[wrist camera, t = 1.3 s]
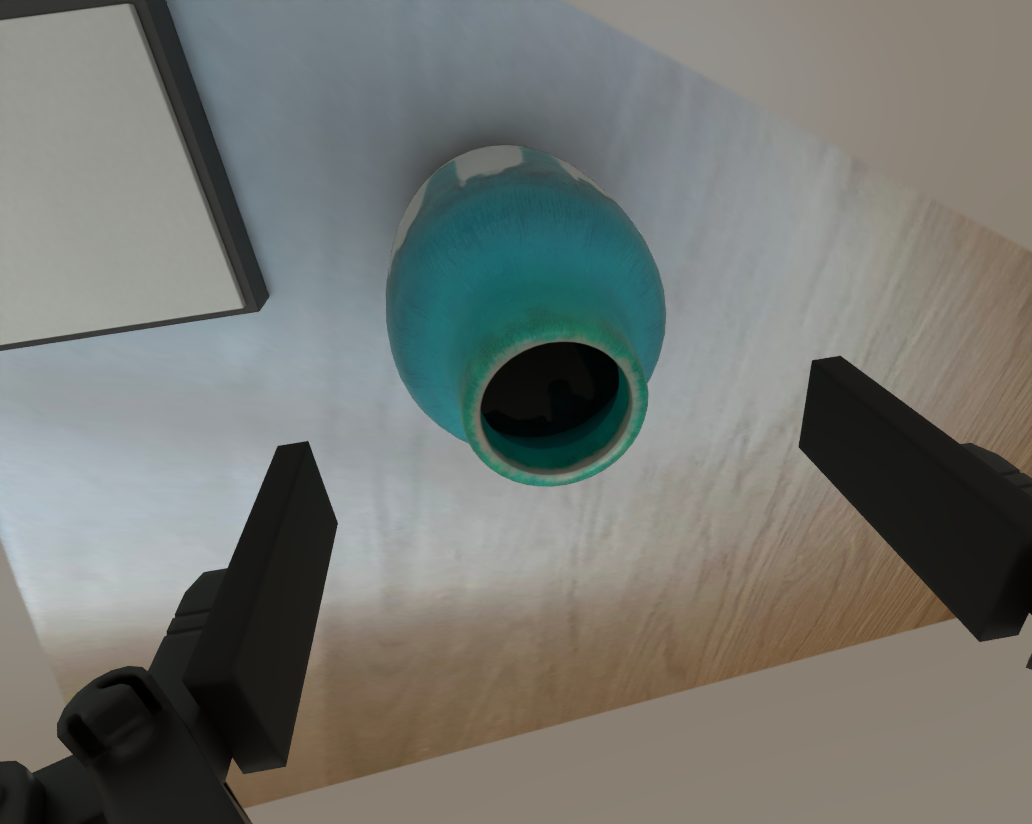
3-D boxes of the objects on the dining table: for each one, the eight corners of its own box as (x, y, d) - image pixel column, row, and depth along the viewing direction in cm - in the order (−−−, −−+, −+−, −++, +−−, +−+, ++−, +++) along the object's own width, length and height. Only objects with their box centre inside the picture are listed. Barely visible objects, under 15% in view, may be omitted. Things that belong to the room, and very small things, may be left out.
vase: (609, 292, 35) (758, 496, 19) (440, 348, 36) (444, 592, 20) (565, 99, 30) (720, 155, 14) (366, 169, 31) (287, 303, 14)
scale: (-187, 7, 25) (-253, 3, 23) (152, -37, 25) (123, -46, 23) (13, 335, 33) (-20, 358, 30) (269, 297, 33) (256, 316, 31)
